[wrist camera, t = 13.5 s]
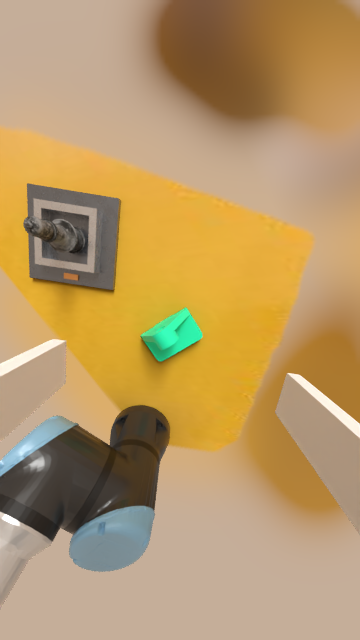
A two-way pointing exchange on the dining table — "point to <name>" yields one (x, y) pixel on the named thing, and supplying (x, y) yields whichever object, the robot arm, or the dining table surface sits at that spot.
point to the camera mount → (172, 335)
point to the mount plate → (94, 222)
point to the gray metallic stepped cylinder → (56, 234)
